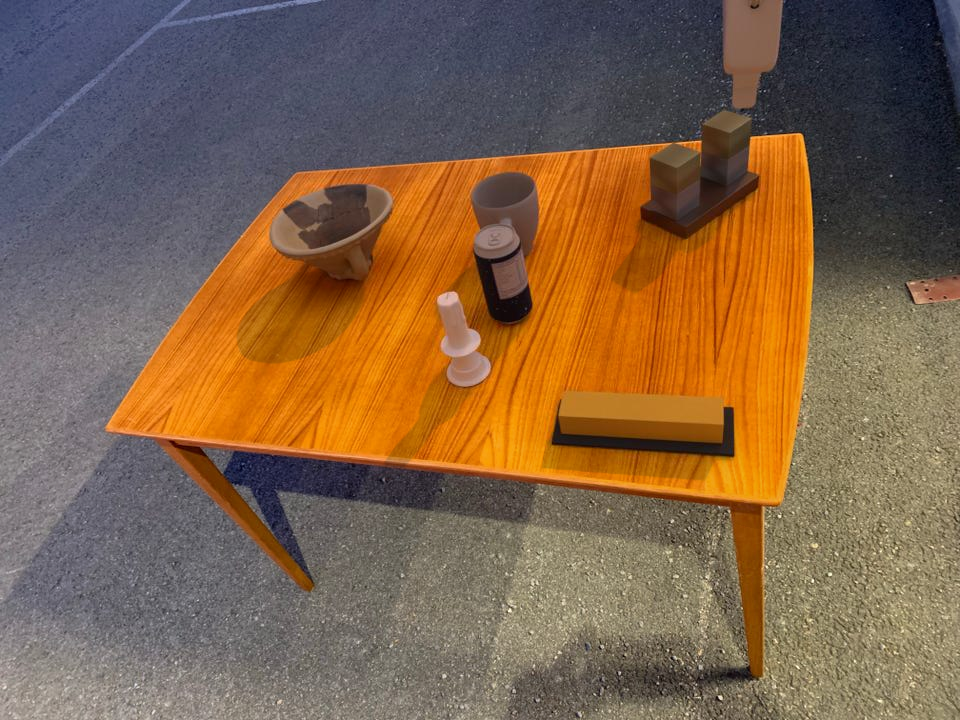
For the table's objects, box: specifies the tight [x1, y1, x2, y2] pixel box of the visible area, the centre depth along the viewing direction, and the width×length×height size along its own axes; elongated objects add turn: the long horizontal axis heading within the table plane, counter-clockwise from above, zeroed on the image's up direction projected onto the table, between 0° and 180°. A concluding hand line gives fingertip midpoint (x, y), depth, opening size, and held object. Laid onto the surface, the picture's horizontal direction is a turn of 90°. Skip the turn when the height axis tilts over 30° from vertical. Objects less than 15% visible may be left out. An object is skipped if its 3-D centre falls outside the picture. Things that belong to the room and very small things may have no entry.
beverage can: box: [472, 224, 534, 325], centre depth 85 cm, size 6×6×12 cm
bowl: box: [268, 183, 394, 282], centre depth 100 cm, size 18×18×10 cm
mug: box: [470, 171, 540, 257], centre depth 94 cm, size 12×9×10 cm
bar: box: [558, 390, 725, 443], centre depth 71 cm, size 4×16×3 cm, turn 77°
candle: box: [436, 291, 492, 388], centre depth 79 cm, size 5×5×12 cm
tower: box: [639, 109, 761, 240], centre depth 94 cm, size 8×15×10 cm, turn 128°
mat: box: [551, 398, 736, 458], centre depth 72 cm, size 18×6×1 cm, turn 77°
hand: (742, 77), depth 60 cm, fingers open, 8 cm apart
